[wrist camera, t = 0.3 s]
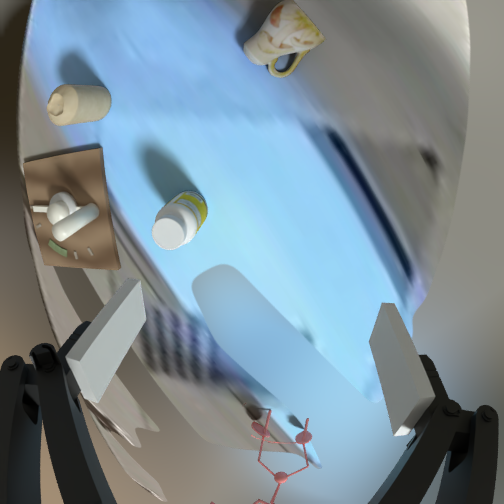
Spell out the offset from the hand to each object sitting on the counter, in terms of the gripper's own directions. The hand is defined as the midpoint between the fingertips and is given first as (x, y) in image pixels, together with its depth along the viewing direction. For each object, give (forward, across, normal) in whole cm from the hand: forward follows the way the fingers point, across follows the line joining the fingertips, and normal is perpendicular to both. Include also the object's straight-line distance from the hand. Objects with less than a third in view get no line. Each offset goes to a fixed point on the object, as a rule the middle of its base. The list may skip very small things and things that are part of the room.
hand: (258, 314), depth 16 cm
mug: (+28, 0, +20) cm, 34 cm away
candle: (+28, -27, +12) cm, 40 cm away
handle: (+26, -34, -4) cm, 43 cm away
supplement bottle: (+28, -12, -3) cm, 30 cm away
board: (+27, -34, -5) cm, 44 cm away
